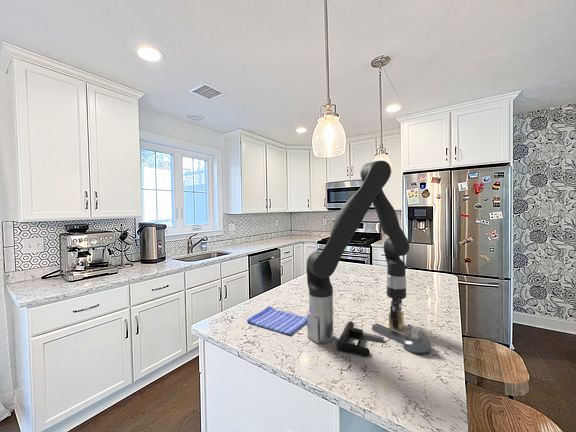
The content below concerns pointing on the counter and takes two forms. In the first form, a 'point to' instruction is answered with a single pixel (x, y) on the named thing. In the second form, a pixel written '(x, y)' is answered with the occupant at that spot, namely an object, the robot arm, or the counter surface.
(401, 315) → the brass cube frame
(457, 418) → the counter surface
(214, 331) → the counter surface
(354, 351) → the door handle
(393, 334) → the ratchet
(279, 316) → the dish towel
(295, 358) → the counter surface
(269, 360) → the counter surface
